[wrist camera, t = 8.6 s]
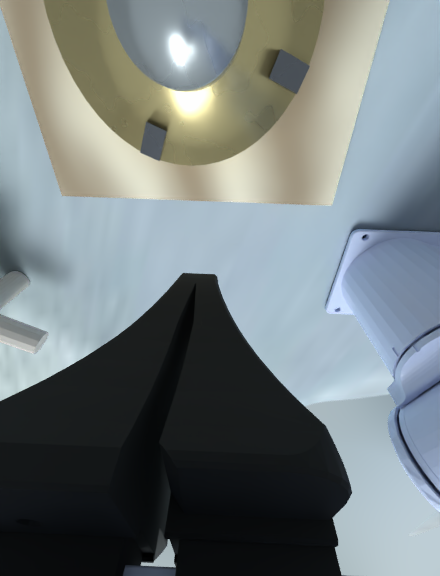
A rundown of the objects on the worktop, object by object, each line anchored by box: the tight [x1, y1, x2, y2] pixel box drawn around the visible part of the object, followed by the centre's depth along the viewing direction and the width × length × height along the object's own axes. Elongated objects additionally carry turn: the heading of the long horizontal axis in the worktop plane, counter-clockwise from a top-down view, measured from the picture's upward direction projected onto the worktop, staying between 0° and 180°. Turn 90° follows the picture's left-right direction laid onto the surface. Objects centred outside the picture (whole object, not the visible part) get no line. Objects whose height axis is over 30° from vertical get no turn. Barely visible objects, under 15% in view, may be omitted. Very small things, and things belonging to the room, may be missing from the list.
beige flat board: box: [0, 0, 390, 206], centre depth 12 cm, size 18×16×2 cm
